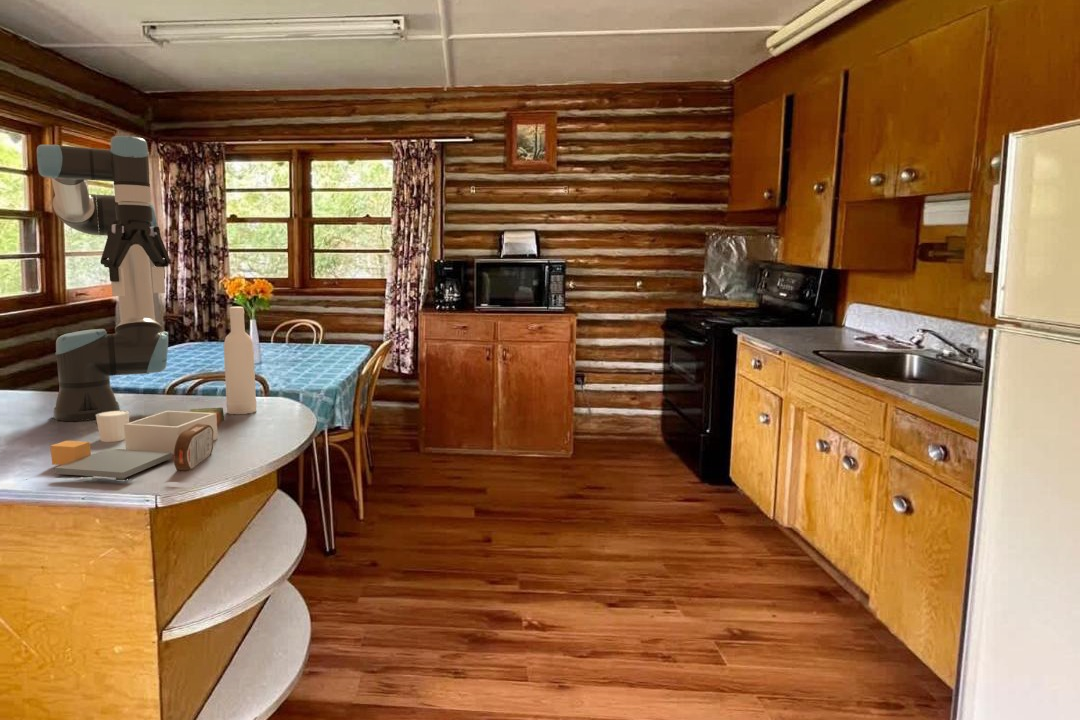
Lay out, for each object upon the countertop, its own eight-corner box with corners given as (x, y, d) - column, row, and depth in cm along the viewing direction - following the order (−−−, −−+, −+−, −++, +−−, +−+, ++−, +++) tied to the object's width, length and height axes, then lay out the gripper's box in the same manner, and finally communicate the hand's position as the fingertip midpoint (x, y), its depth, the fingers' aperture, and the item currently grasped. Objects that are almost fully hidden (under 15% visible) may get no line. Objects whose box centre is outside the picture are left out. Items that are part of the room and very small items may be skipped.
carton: (177, 438, 169) (176, 421, 168) (191, 423, 184) (189, 408, 183) (214, 436, 171) (213, 419, 170) (224, 421, 186) (223, 406, 186)
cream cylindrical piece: (100, 439, 166) (98, 411, 164) (133, 437, 168) (131, 409, 167) (95, 446, 159) (92, 417, 158) (129, 444, 162) (127, 415, 161)
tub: (126, 454, 153) (124, 424, 152) (168, 438, 167) (167, 410, 166) (179, 458, 151) (177, 427, 150) (217, 441, 165) (216, 413, 164)
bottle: (233, 408, 200) (228, 305, 196) (260, 408, 200) (256, 306, 196) (222, 414, 192) (216, 307, 188) (250, 415, 193) (245, 308, 188)
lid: (87, 458, 150) (85, 434, 150) (172, 464, 147) (170, 439, 147) (31, 479, 137) (29, 452, 136) (124, 485, 134) (121, 458, 133)
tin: (202, 455, 154) (200, 419, 153) (217, 455, 154) (215, 419, 153) (173, 477, 139) (170, 436, 138) (189, 477, 139) (186, 436, 138)
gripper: (156, 208, 175) (161, 291, 179) (76, 200, 151) (84, 296, 154) (182, 208, 174) (187, 292, 178) (107, 200, 150) (114, 297, 153)
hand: (139, 294), depth 166 cm, fingers open, 13 cm apart
